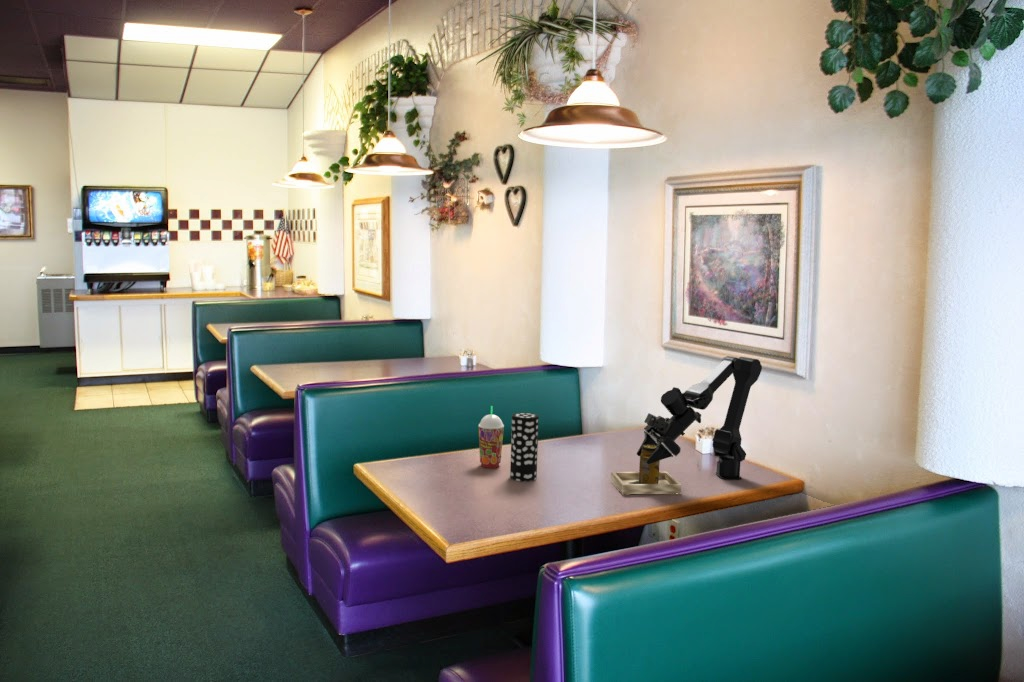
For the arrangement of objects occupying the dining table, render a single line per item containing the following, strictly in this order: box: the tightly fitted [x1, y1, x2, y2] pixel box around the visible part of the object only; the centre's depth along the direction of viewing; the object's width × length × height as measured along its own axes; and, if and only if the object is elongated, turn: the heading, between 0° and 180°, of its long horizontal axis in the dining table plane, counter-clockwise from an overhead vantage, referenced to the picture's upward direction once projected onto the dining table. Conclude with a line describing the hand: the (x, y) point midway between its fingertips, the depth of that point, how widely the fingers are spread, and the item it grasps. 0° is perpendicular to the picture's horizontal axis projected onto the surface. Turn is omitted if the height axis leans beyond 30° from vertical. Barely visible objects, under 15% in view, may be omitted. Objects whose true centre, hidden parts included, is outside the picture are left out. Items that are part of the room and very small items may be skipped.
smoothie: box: [477, 405, 505, 469], centre depth 284 cm, size 8×8×20 cm
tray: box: [610, 471, 682, 496], centre depth 266 cm, size 18×14×3 cm
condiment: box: [628, 445, 661, 484], centre depth 265 cm, size 7×8×12 cm
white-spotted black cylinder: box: [509, 412, 540, 482], centre depth 271 cm, size 8×8×20 cm
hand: (642, 459), depth 264 cm, fingers open, 9 cm apart
